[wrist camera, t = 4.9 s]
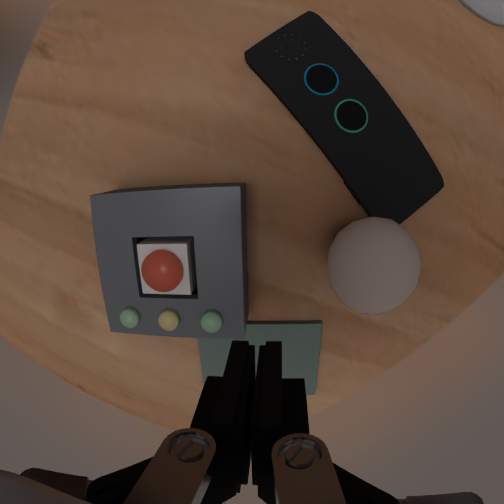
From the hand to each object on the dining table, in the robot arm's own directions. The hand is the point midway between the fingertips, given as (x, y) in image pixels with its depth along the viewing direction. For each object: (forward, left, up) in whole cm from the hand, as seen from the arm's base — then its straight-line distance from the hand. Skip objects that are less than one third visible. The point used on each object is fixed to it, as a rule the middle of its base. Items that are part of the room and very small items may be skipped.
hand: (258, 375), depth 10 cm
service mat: (+1, +12, -18) cm, 22 cm away
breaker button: (+8, +1, -16) cm, 18 cm away
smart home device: (-8, -11, -19) cm, 24 cm away
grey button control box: (+8, +1, -18) cm, 20 cm away
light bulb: (-7, 0, -19) cm, 20 cm away
